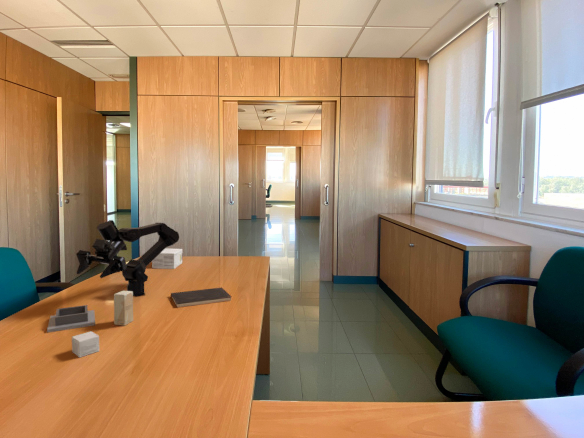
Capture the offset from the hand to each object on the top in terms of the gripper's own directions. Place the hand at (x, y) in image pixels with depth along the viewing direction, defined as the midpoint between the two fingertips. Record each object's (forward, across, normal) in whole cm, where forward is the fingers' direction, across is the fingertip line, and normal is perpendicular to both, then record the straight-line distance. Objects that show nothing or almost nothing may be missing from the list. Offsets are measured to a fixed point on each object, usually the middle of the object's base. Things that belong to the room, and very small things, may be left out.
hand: (88, 275), depth 136 cm
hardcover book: (-16, +36, +22) cm, 45 cm away
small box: (+31, +20, -3) cm, 37 cm away
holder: (+14, 0, +9) cm, 17 cm away
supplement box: (-64, -4, +55) cm, 84 cm away
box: (+12, +19, +8) cm, 24 cm away
